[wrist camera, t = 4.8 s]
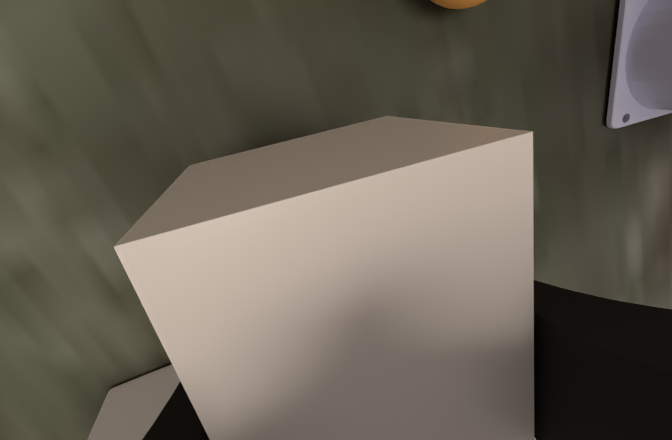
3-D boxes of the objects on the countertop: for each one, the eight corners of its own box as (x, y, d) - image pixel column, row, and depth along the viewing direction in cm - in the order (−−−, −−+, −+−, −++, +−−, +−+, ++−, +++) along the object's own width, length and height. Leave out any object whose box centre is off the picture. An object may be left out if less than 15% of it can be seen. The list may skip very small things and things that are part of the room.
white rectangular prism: (189, 165, 10) (113, 246, 4) (386, 115, 11) (532, 131, 5) (279, 407, 13) (301, 623, 8) (423, 355, 14) (534, 517, 9)
